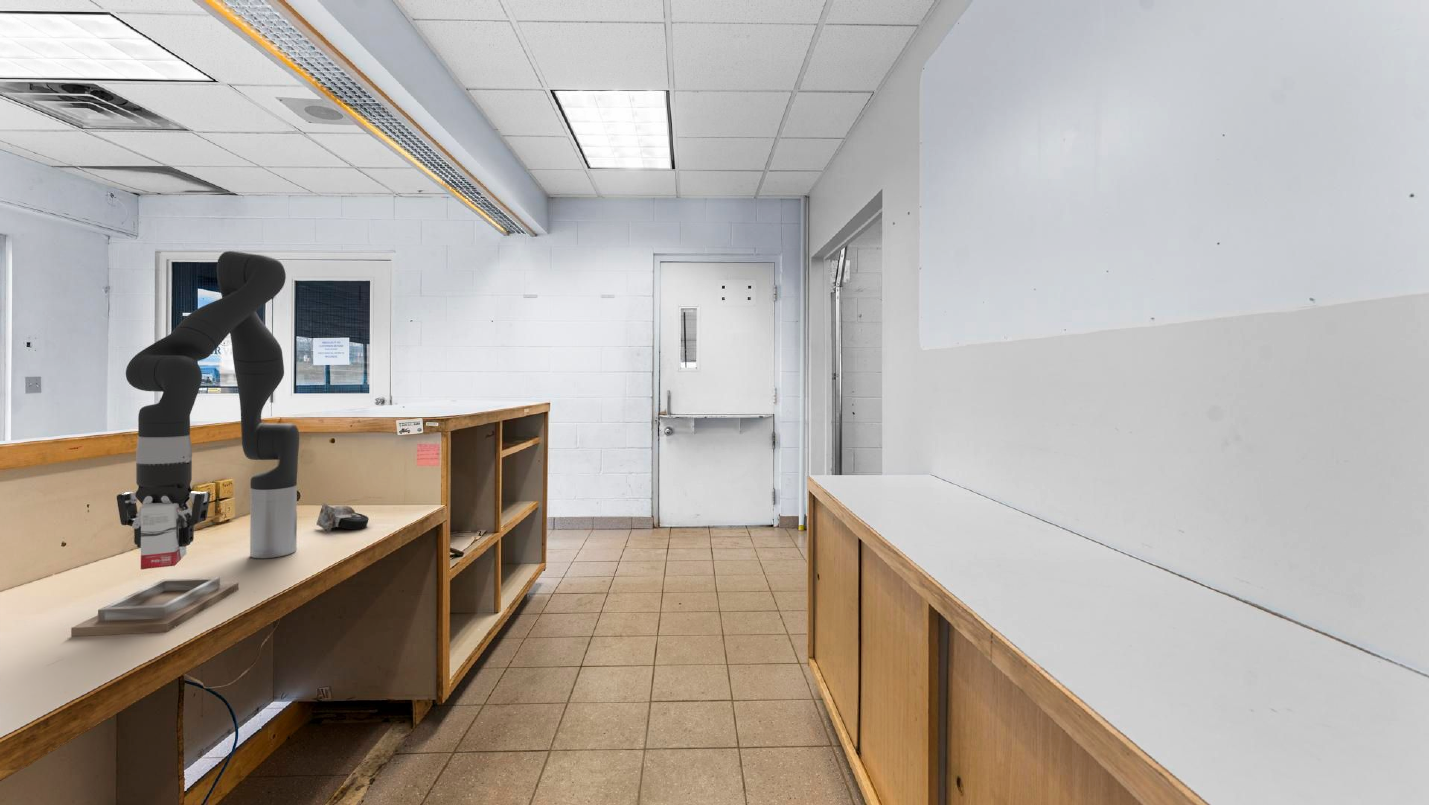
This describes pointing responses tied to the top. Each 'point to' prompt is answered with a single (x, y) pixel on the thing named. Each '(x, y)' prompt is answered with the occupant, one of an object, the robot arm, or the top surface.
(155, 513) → the ink box
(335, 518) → the caster wheel
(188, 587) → the locator board
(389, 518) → the top surface
